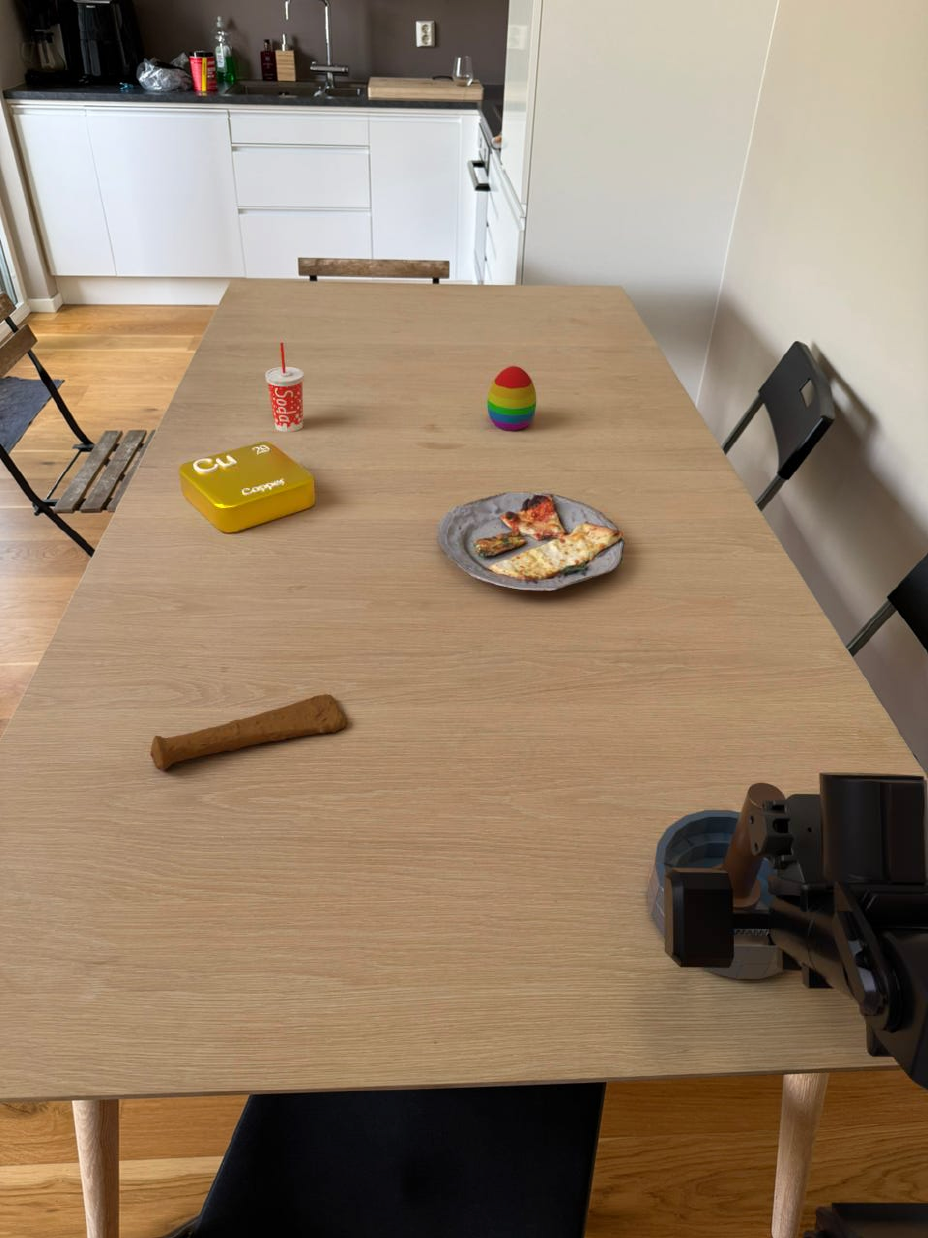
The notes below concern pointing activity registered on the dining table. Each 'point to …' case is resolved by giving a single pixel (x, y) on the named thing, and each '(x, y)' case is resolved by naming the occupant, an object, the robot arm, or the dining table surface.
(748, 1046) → the dining table surface
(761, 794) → the pestle
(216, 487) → the element tile
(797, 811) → the robot arm
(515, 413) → the decorative egg
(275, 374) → the beverage cup
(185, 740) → the primitive tool
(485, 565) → the food plate
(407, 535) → the dining table surface
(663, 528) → the dining table surface
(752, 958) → the bowl
